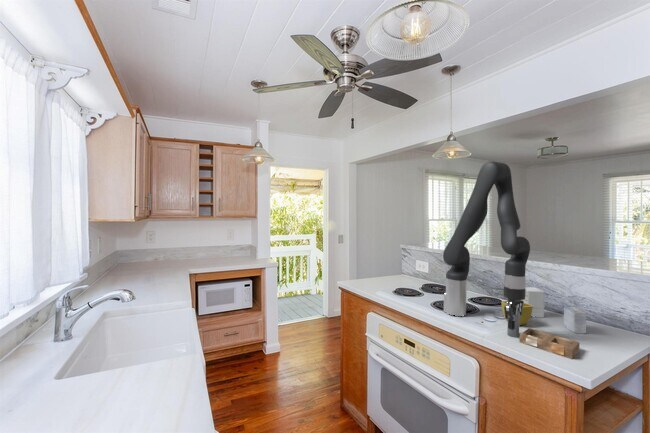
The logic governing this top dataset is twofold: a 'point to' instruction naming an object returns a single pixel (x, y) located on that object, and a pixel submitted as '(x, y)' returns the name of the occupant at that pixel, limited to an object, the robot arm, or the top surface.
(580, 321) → the medicine box
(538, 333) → the socket block
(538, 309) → the supplement box
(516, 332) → the plug
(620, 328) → the top surface
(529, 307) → the flower pot
